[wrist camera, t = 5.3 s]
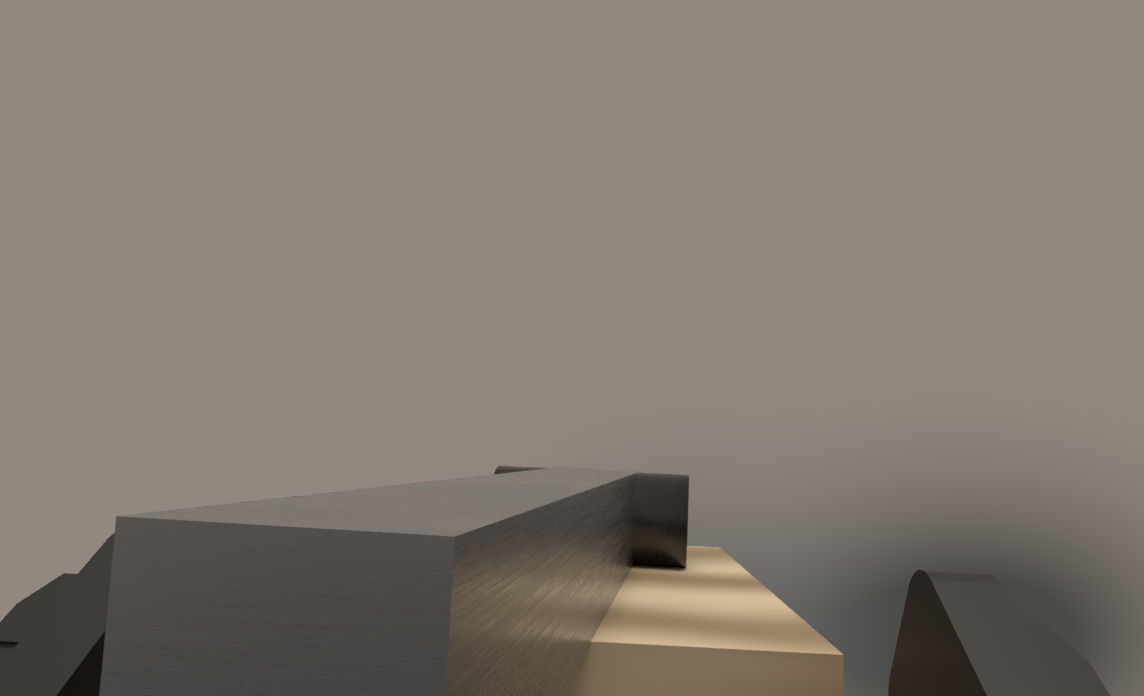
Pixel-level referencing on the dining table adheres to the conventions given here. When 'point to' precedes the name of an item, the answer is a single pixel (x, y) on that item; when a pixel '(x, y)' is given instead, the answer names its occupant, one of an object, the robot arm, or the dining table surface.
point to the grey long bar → (385, 586)
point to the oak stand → (704, 638)
